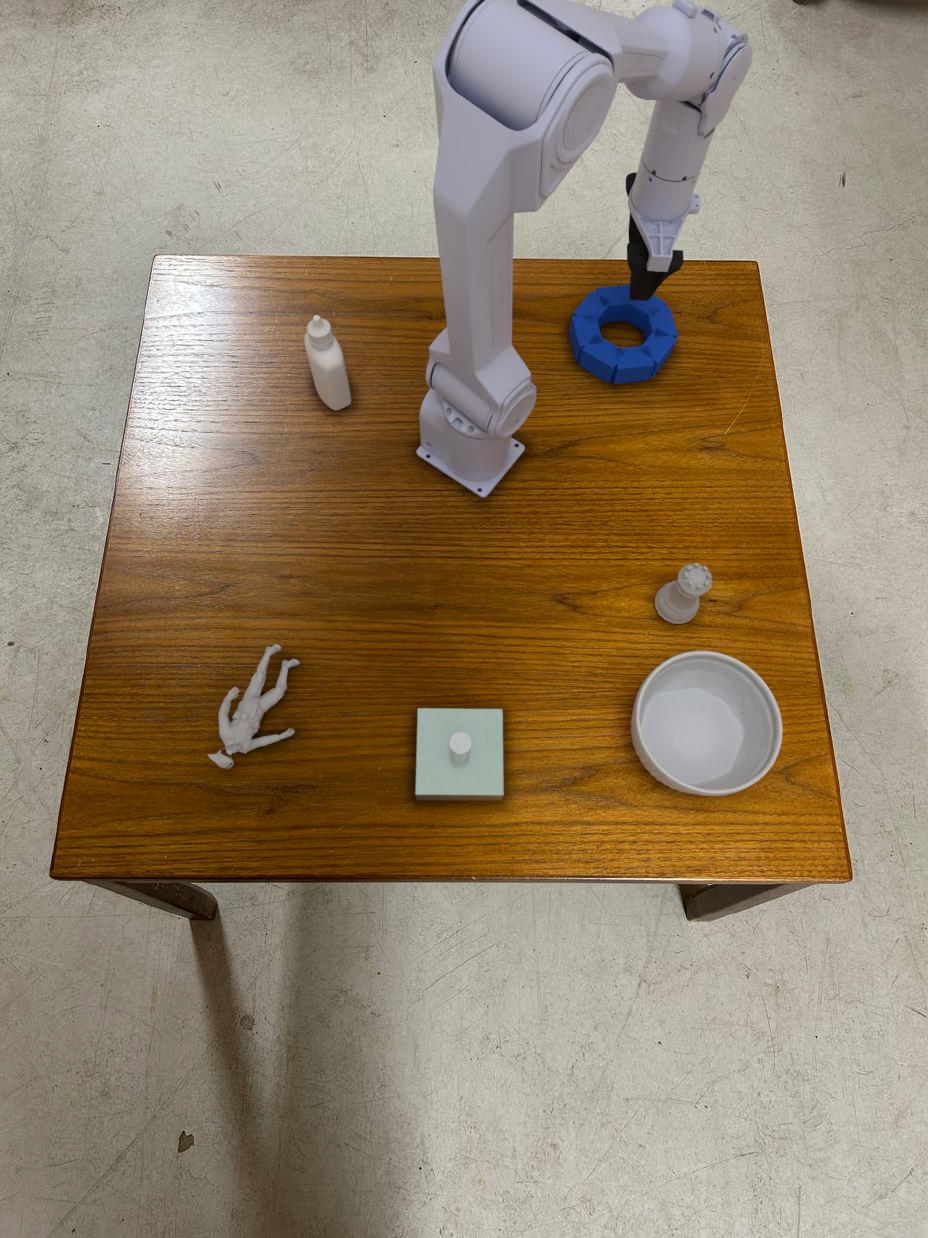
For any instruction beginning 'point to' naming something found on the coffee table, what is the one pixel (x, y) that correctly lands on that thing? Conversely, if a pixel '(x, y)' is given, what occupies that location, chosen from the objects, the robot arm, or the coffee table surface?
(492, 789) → the pale green peg block
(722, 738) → the ramekin
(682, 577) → the rook chess piece
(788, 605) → the coffee table surface
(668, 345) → the blue ring
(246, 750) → the soldier figure
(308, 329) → the eye dropper bottle
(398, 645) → the coffee table surface
